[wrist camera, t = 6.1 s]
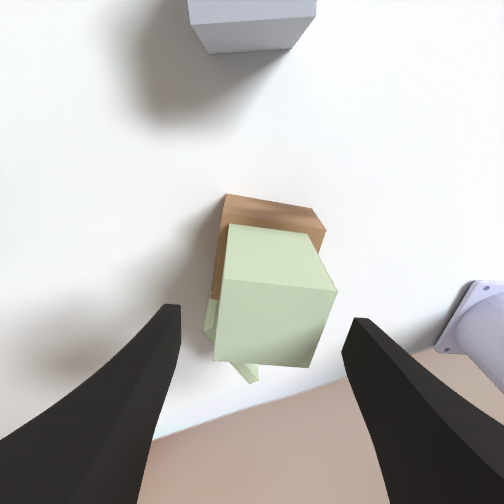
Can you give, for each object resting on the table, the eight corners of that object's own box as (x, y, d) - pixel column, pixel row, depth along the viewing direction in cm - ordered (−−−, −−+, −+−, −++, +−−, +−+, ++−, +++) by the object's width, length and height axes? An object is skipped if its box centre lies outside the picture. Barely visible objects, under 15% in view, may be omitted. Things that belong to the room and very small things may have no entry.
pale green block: (231, 276, 21) (227, 320, 17) (267, 325, 23) (272, 374, 19) (199, 292, 22) (188, 338, 17) (237, 338, 24) (236, 389, 20)
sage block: (289, 296, 17) (308, 368, 12) (220, 288, 17) (212, 360, 12) (307, 233, 15) (338, 291, 10) (229, 223, 15) (223, 278, 10)
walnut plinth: (310, 207, 19) (326, 229, 15) (289, 277, 21) (298, 310, 18) (226, 192, 18) (222, 212, 15) (215, 267, 21) (210, 298, 17)
